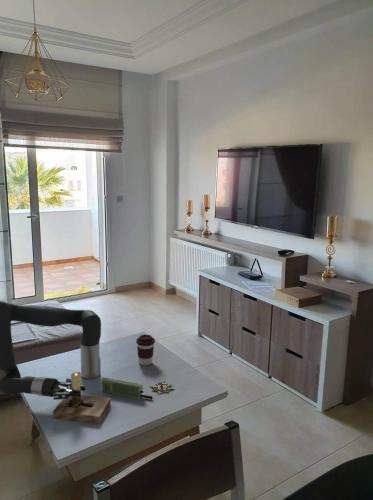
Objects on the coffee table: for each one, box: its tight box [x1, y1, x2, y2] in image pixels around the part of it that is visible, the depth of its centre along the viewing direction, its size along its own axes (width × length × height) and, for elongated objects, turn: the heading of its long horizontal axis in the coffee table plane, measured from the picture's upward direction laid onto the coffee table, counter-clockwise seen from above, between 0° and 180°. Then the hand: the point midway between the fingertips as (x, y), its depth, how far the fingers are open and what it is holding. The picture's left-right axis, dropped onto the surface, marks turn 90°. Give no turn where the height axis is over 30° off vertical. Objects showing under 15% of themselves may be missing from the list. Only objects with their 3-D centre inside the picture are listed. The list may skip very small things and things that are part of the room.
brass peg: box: [70, 371, 82, 408], centre depth 171 cm, size 4×4×17 cm
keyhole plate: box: [52, 394, 111, 425], centre depth 172 cm, size 20×14×3 cm
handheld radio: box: [101, 377, 153, 400], centre depth 186 cm, size 7×3×25 cm
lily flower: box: [150, 379, 172, 395], centre depth 193 cm, size 12×12×5 cm
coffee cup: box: [135, 334, 156, 366], centre depth 217 cm, size 10×10×15 cm
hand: (82, 391), depth 171 cm, fingers closed on brass peg, 4 cm apart
